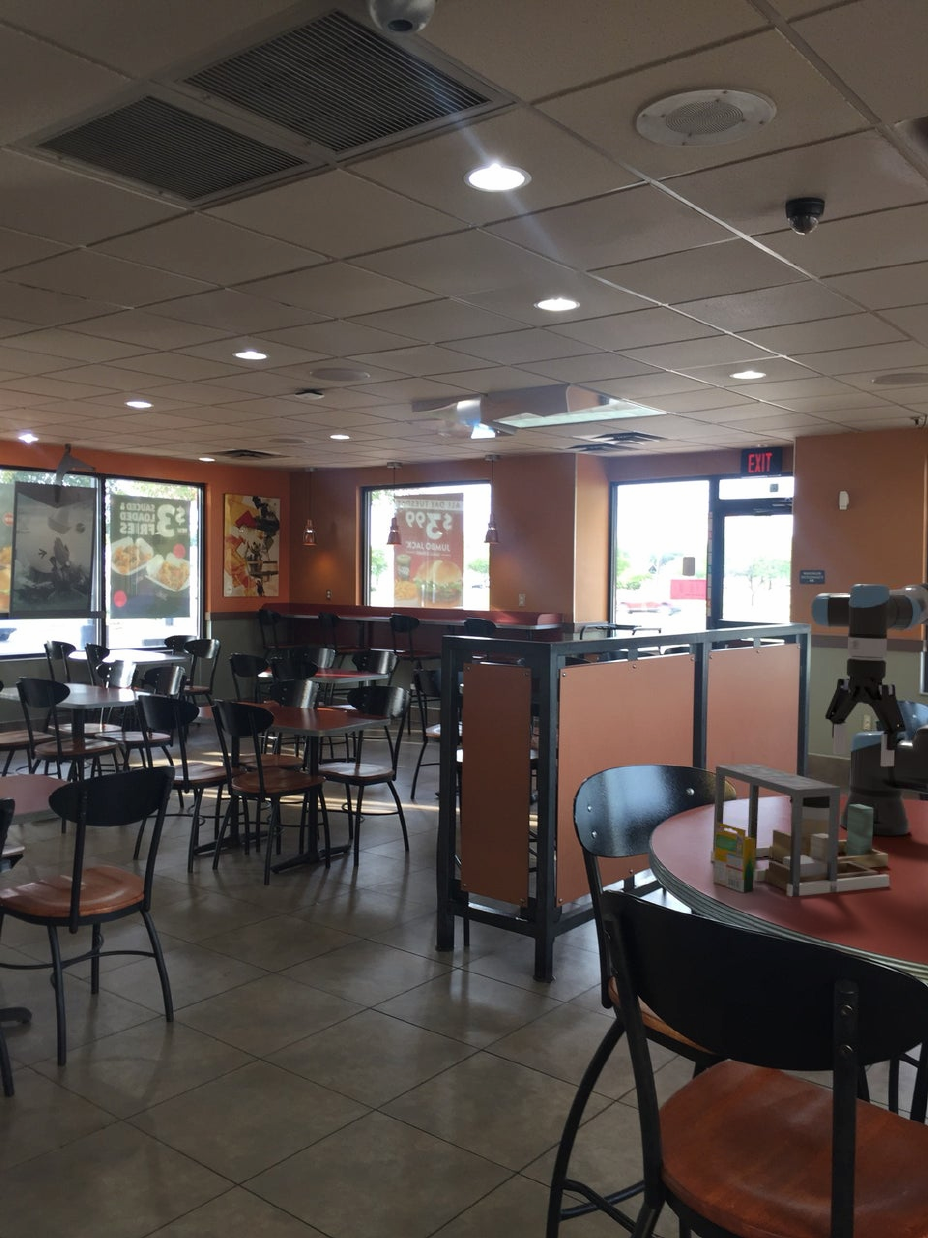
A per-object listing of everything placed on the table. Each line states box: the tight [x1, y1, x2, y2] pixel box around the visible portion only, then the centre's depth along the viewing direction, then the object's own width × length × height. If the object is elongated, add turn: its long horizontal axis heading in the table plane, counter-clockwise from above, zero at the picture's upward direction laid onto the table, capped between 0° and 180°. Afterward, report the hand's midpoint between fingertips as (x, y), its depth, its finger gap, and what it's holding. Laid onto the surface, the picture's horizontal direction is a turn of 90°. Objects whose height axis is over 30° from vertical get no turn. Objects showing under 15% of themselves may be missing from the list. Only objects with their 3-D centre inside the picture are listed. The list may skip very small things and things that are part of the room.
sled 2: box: [765, 833, 879, 892], centre depth 187 cm, size 20×8×9 cm, turn 111°
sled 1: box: [768, 804, 889, 869], centre depth 203 cm, size 20×12×11 cm, turn 111°
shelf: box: [712, 763, 842, 897], centre depth 192 cm, size 10×24×20 cm, turn 21°
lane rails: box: [710, 845, 890, 897], centre depth 194 cm, size 23×24×2 cm
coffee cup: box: [789, 796, 830, 841], centre depth 201 cm, size 9×9×15 cm
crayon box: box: [713, 822, 756, 894], centre depth 184 cm, size 7×3×12 cm, turn 33°
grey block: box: [782, 855, 823, 877], centre depth 186 cm, size 5×5×5 cm
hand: (862, 760), depth 205 cm, fingers open, 13 cm apart
